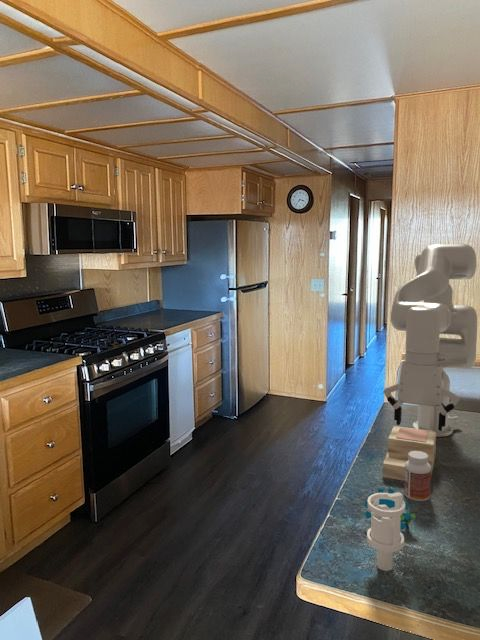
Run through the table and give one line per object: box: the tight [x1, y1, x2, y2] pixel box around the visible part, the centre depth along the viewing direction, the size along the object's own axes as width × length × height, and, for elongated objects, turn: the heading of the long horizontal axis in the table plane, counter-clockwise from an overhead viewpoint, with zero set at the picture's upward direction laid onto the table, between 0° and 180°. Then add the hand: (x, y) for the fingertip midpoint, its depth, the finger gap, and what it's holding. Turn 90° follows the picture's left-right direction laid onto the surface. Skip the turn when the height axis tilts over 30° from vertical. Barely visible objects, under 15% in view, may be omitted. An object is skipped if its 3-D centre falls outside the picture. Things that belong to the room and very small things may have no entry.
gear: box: [364, 488, 417, 530], centre depth 112 cm, size 11×6×10 cm
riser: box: [382, 425, 437, 482], centre depth 138 cm, size 18×12×8 cm, turn 154°
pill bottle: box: [403, 451, 432, 502], centre depth 123 cm, size 6×6×11 cm
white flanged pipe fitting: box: [366, 491, 406, 572], centre depth 97 cm, size 7×7×15 cm
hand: (419, 426), depth 120 cm, fingers open, 9 cm apart
